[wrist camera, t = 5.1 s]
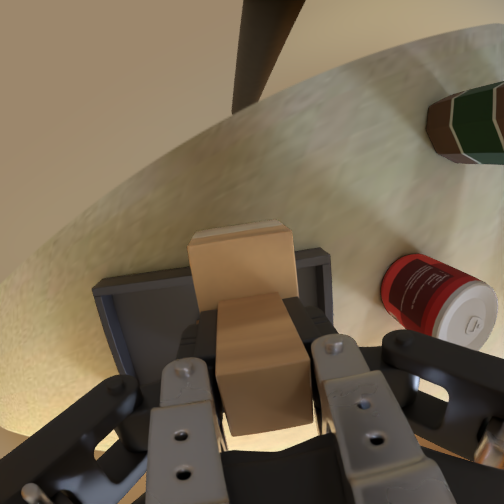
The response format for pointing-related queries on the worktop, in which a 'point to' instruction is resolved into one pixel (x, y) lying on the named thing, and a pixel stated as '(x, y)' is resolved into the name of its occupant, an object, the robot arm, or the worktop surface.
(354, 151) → the worktop surface
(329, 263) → the tray
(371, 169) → the worktop surface
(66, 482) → the robot arm
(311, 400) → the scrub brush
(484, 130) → the beer bottle
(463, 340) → the canned food
